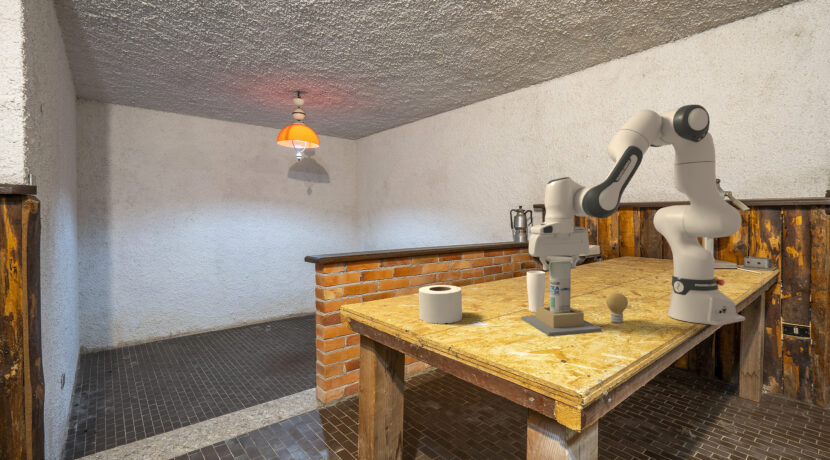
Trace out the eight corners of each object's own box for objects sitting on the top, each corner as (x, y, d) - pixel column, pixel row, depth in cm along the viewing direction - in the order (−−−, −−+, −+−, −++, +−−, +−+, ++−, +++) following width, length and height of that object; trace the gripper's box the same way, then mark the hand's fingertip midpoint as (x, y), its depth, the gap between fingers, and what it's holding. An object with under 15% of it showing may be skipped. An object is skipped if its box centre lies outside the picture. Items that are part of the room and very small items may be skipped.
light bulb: (631, 324, 120) (632, 294, 119) (612, 325, 120) (612, 295, 119) (620, 319, 126) (620, 290, 126) (602, 319, 126) (602, 291, 126)
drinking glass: (549, 312, 137) (549, 272, 136) (536, 314, 134) (536, 274, 133) (535, 308, 143) (535, 270, 142) (522, 310, 140) (522, 271, 139)
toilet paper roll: (410, 318, 133) (410, 288, 133) (440, 309, 143) (439, 282, 143) (441, 327, 122) (440, 295, 121) (470, 317, 132) (470, 288, 132)
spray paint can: (545, 320, 124) (545, 261, 123) (562, 318, 125) (562, 260, 124) (556, 325, 117) (556, 263, 116) (574, 324, 119) (575, 262, 118)
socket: (567, 315, 132) (567, 301, 132) (601, 331, 114) (601, 315, 114) (521, 319, 129) (521, 305, 128) (549, 335, 111) (549, 319, 111)
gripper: (581, 225, 125) (581, 266, 126) (526, 228, 121) (526, 269, 122) (593, 226, 119) (593, 268, 119) (535, 228, 115) (536, 272, 116)
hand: (559, 269), depth 121 cm, fingers open, 8 cm apart
